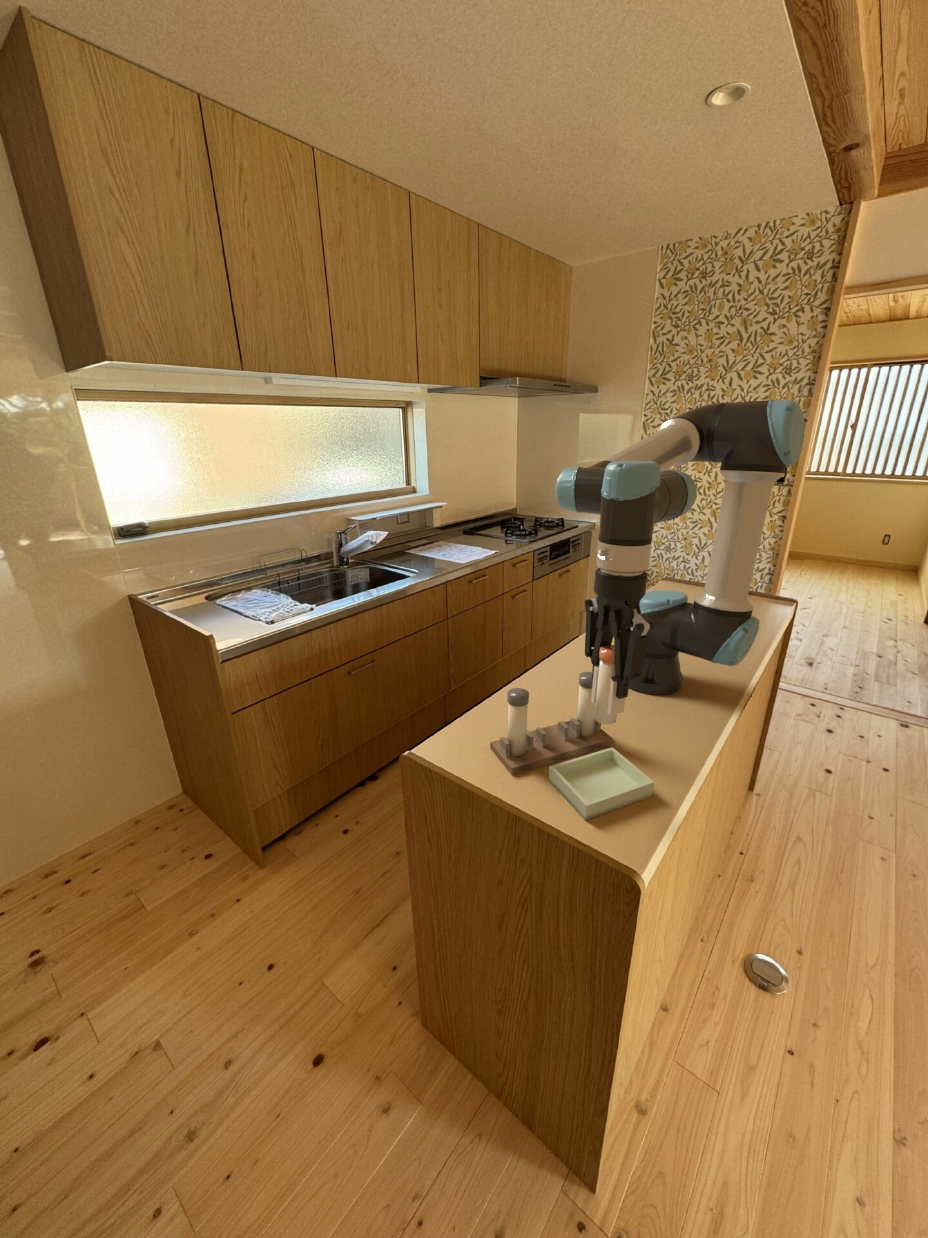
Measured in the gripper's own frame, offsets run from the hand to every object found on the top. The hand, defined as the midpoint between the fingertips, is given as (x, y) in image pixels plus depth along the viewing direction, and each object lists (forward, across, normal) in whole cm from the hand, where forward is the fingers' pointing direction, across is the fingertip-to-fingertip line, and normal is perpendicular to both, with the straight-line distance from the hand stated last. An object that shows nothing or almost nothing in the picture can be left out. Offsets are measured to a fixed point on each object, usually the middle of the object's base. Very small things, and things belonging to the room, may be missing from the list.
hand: (607, 706), depth 82 cm
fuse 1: (+15, -14, -9) cm, 23 cm away
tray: (+17, 0, 0) cm, 17 cm away
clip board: (+17, -14, -1) cm, 22 cm away
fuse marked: (+2, 0, 0) cm, 2 cm away
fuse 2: (+15, -14, +7) cm, 22 cm away
